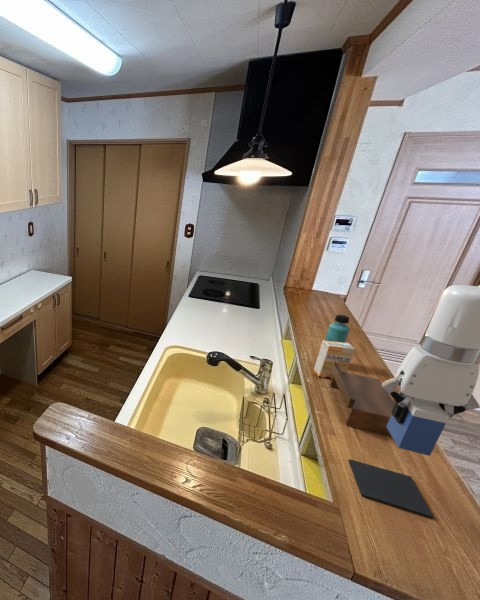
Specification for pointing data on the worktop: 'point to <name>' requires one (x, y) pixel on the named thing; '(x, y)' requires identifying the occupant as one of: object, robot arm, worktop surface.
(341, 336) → the beverage bottle
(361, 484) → the mat
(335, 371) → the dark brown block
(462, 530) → the worktop surface
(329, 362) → the supplement box
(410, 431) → the box
